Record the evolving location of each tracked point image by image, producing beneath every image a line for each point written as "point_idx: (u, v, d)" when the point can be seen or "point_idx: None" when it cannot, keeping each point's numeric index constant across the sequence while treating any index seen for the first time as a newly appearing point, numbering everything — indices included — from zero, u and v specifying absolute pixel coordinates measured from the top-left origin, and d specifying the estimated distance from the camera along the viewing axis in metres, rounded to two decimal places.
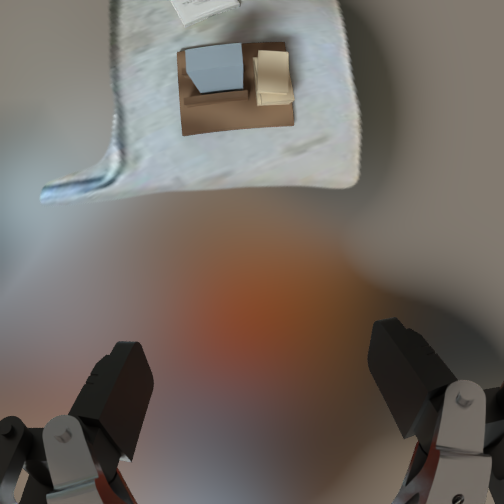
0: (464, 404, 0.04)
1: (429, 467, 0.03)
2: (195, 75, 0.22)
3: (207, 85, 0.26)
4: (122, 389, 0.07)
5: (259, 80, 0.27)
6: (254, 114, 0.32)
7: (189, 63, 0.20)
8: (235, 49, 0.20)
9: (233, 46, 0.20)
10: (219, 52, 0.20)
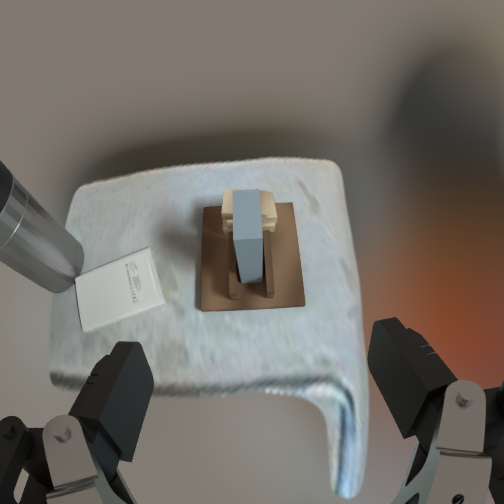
0: (464, 404, 0.04)
1: (429, 467, 0.03)
2: None
3: None
4: (122, 389, 0.07)
5: None
6: (283, 234, 0.35)
7: (252, 235, 0.23)
8: (239, 195, 0.25)
9: (236, 196, 0.25)
10: (242, 208, 0.24)
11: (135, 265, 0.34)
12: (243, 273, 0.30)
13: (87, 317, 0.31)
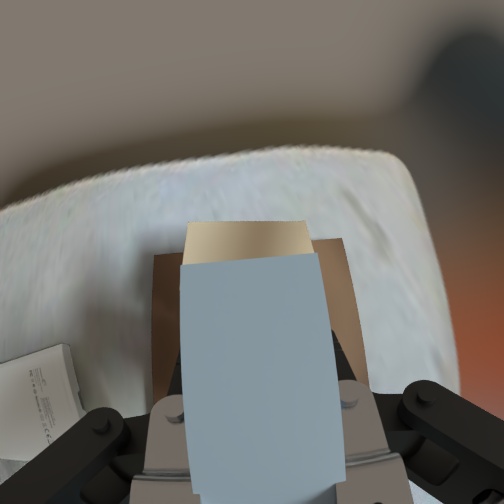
0: None
1: None
2: None
3: None
4: None
5: None
6: (331, 315, 0.15)
7: None
8: (217, 292, 0.05)
9: (199, 302, 0.05)
10: (234, 377, 0.04)
11: (42, 377, 0.14)
12: None
13: None
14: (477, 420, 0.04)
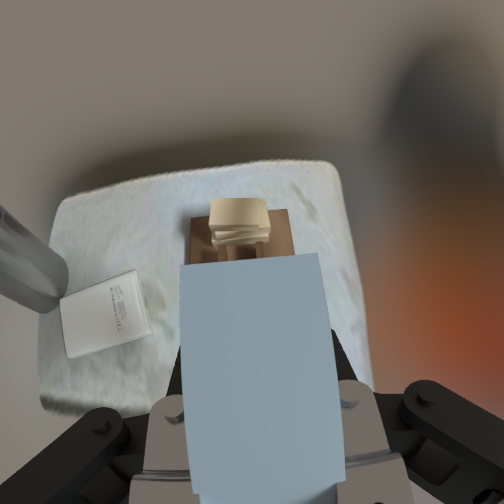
0: (341, 405, 0.05)
1: None
2: None
3: None
4: None
5: (247, 223, 0.29)
6: (278, 244, 0.33)
7: None
8: (217, 294, 0.05)
9: (199, 302, 0.05)
10: (234, 378, 0.04)
11: (120, 289, 0.31)
12: None
13: (71, 343, 0.28)
14: (478, 420, 0.04)
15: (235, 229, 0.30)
